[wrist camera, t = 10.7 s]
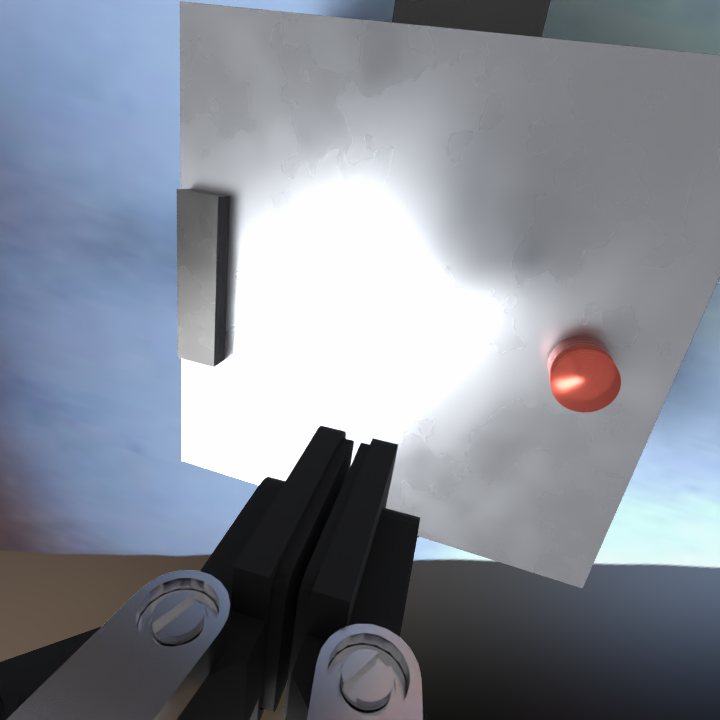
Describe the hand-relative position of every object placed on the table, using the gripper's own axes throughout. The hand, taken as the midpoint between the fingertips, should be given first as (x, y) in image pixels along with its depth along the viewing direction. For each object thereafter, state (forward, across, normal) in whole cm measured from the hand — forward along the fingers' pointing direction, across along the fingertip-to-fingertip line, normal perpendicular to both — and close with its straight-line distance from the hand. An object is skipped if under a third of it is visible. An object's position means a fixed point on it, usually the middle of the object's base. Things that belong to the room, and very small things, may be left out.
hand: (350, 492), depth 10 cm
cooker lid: (+13, +1, 0) cm, 13 cm away
